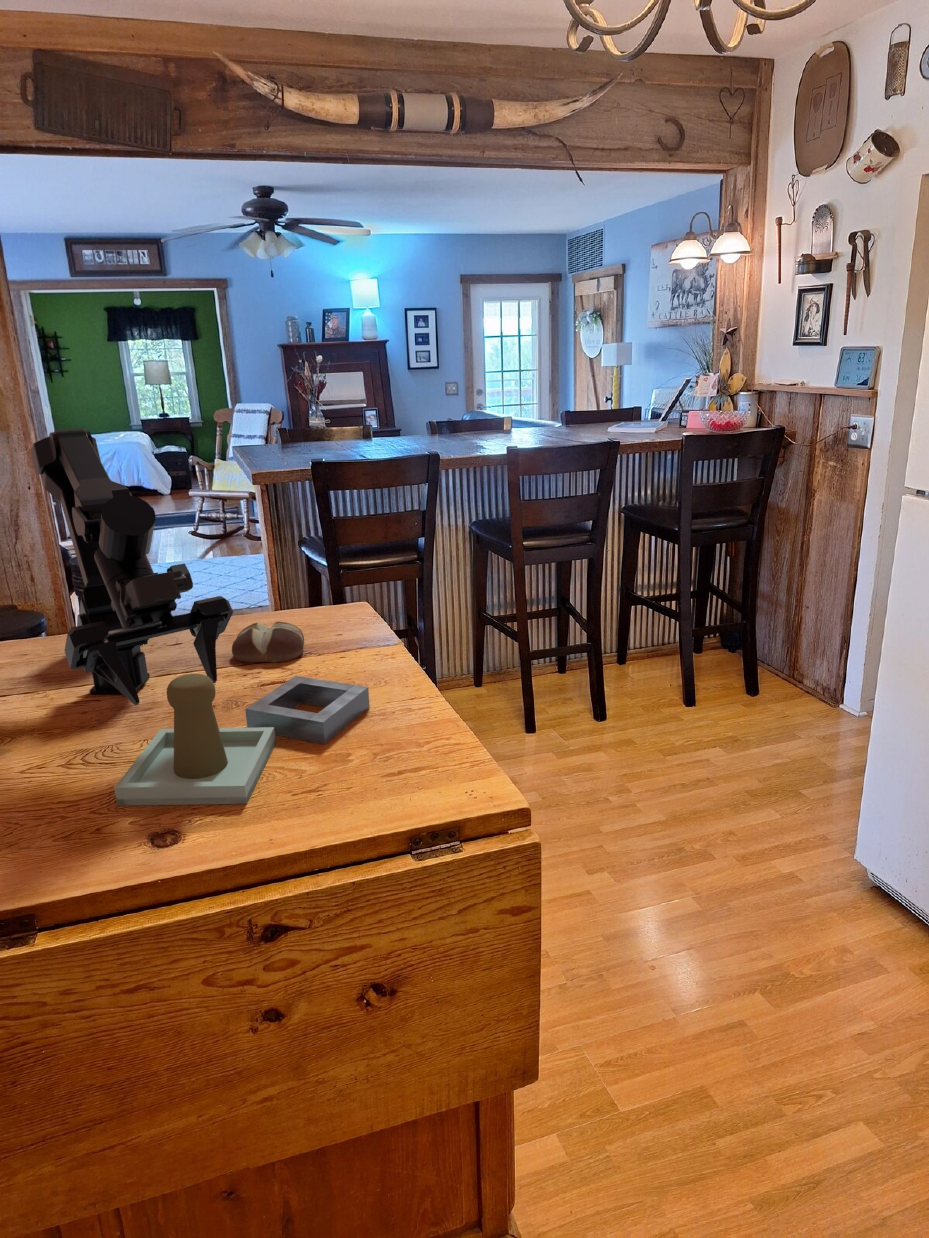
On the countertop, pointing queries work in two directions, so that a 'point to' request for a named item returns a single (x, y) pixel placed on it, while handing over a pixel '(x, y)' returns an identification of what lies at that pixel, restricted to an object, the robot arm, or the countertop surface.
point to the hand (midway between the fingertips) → (177, 692)
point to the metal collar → (308, 726)
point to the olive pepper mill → (195, 727)
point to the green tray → (232, 785)
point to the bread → (268, 643)
